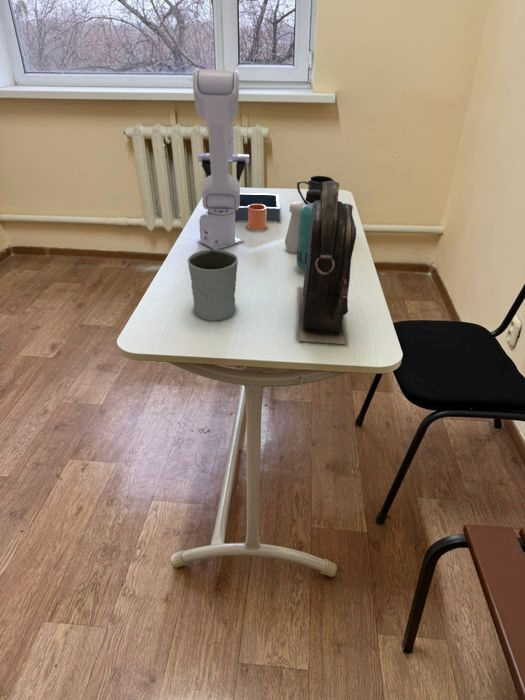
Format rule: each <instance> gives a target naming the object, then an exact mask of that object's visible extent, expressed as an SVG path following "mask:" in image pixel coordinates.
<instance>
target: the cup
mask: <svg viewBox="0 0 525 700" xmlns="http://www.w3.org/2000/svg"><path fill="white" fill-rule="evenodd" d="M266 218H267V207H266V206H265V205H262V204H251V205H249V206H248V219H247V220H246V221H247V228H248V229H249V230H251V231H263V230H266V228H267V221H266Z"/></svg>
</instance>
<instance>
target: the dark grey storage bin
mask: <svg viewBox="0 0 525 700" xmlns="http://www.w3.org/2000/svg"><path fill="white" fill-rule="evenodd" d="M251 204H262V205H265V206H266V207H267V218H266V222H280V215H281V214H280V212H281V211H280V210H281V208H280V196H279V194H278V193H277V194H275V193H244V192H243V193H241V192H240V208H239V209H238V210H236V206H235V221H247V219H248V206H249V205H251Z"/></svg>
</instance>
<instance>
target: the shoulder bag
mask: <svg viewBox="0 0 525 700" xmlns="http://www.w3.org/2000/svg"><path fill="white" fill-rule="evenodd" d="M339 188H340V182H338V181H335V180H334V181H325V182H322V193H321V201H314V204H313V208H312V220H311V230H310V240H309V249H308V255H307V261H306V268H305V270H304V277H303V284H302V287H301V288H299V306H298V309H299V310H298V311H299V312H298V313H299V314H298V341H299V342H309V343H321V344H322V343H323V344H340V345H345V344H346V341H345V332H344V325H343V323H344V322H343V321H344V316H346V315H347V313H348V311H349V308H348V307H349V306H348V301H349V299H348V297H349V295H348V294H349V289H350V281H351V267H352V258H353V253H354V248H355V243H356V239H357V227H356V223H355V220H354V216H353V210H354V209H353V208H354V207H353V204H351V203H343V202H342V201H341V200H339Z"/></svg>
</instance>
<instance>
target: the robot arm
mask: <svg viewBox="0 0 525 700" xmlns="http://www.w3.org/2000/svg"><path fill="white" fill-rule="evenodd" d="M192 90H193V92H192V93H193V99H194V108H195V110H196V115H197V117H199V118H200V119H202V120H203V121H204V123H205V127H206V130H207V135H208V136H207V137H208V147H209V149H208V150H209V152H202V153H201V152H199V153H197V162H199V163H201V167H202V170H203V171H204V173H205V175H206V177H205V178H203V181H202V188H201V190H202V191H201V192H202V193H201V194H202V199H201V200H202V207H203V208H204V209H205V210H207V212H205V213H204V214H201V216H200V218H199V239H198V241H199V243H201V244H203V245H205V246H207V247H208V248H210V249H211V250H222V249H224V248H227V247H230V246H233V245H236V244H238V243H240V242H242V240H243V239H240V238H238V237H236V220H235V206H236V210H238V209H239V208H240V193H241V187H240V180H241V176H242V174H243V172H244V170H245V168H246V164H250V154H245V153H244V154H243V153H235V152H234V120H235V118H236V117H237V116H238V111H239V100H240V73H239V71H238V70H237V69H235V68H234V69H232V70H231V69H206V68H205V69H203V68H197V67H196V68H195V69H194V70H193V73H192ZM229 163H236V164H235V173H236V174H235V175H236V177H234V176H233V175H231V174H230V172H229Z"/></svg>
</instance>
